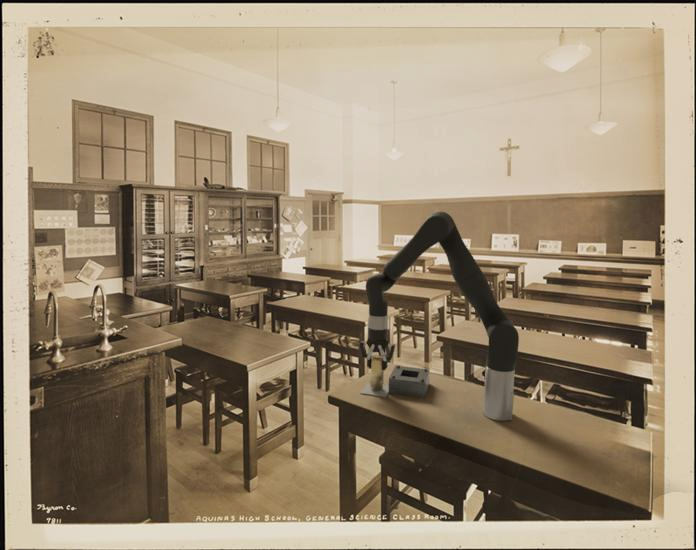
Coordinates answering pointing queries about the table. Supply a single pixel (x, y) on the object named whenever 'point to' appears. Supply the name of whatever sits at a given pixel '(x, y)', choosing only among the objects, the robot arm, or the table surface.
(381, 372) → the brass cylindrical shaft
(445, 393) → the table surface
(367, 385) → the rubber mat
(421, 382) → the grey square socket block
